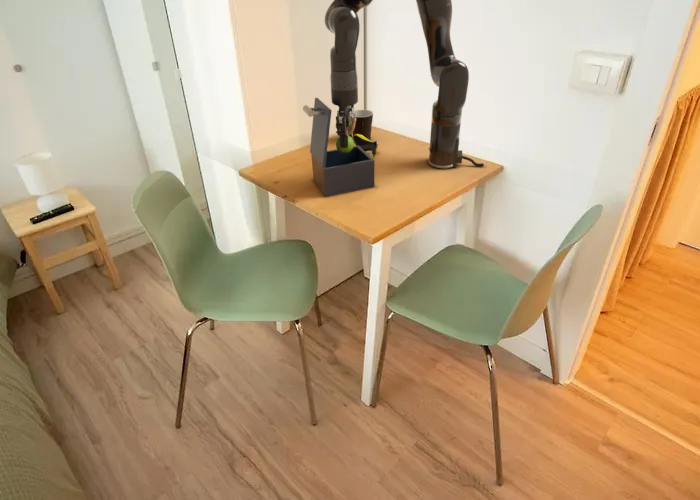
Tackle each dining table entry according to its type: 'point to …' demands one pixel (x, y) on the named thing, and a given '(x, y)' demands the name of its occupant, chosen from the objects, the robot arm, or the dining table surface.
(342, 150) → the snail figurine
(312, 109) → the lid
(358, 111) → the coffee mug
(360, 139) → the gaming controller
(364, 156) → the compartment
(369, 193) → the dining table surface
